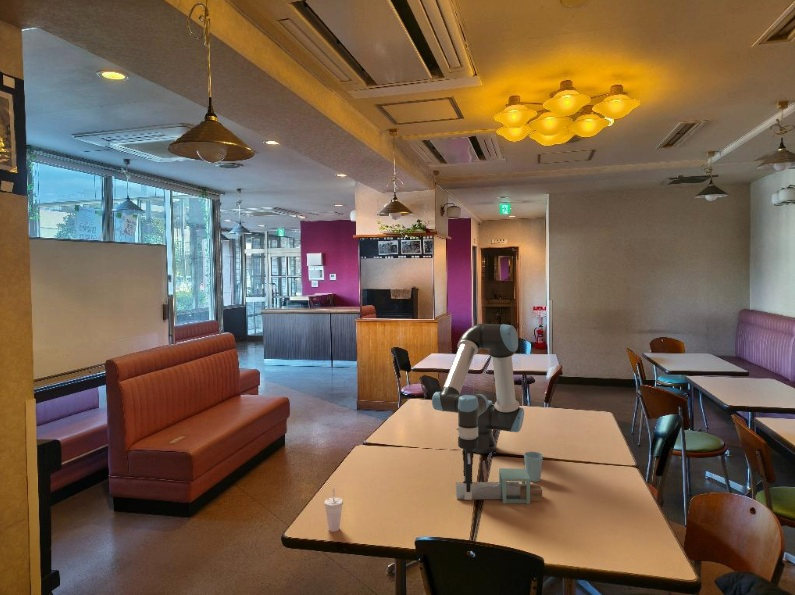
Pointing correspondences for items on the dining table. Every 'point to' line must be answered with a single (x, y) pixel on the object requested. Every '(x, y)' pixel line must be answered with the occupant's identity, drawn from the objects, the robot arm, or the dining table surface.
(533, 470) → the cup
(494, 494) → the grey bar
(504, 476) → the bridge
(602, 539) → the dining table surface
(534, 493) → the walnut block
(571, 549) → the dining table surface
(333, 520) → the smoothie
